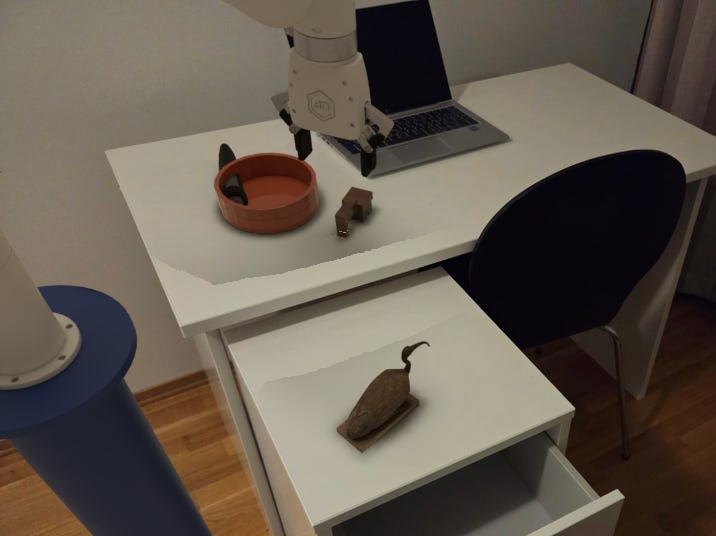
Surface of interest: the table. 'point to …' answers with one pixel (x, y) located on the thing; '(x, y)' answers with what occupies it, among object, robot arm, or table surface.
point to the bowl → (269, 192)
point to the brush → (353, 209)
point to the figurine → (381, 405)
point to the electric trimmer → (231, 178)
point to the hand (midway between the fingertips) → (336, 164)
